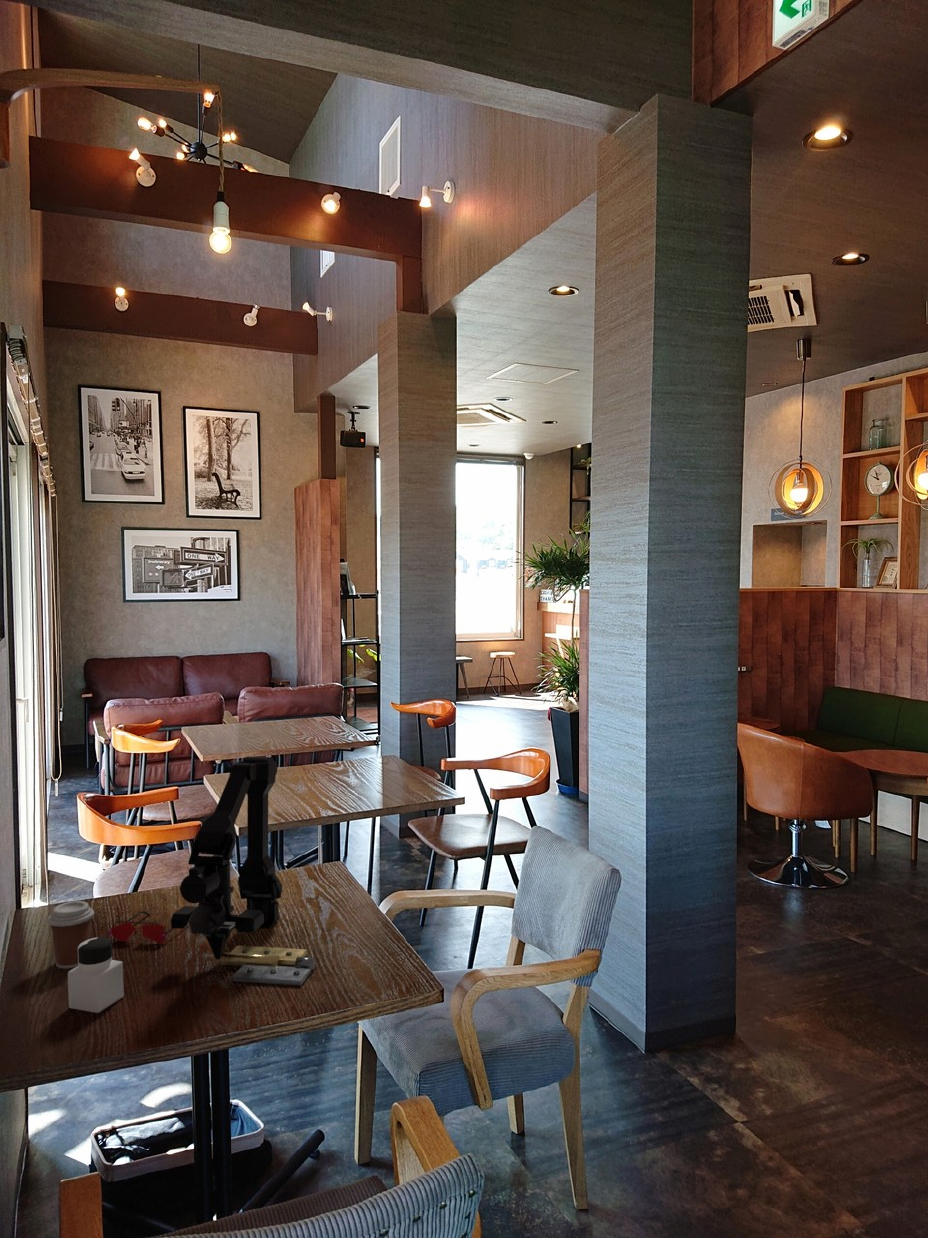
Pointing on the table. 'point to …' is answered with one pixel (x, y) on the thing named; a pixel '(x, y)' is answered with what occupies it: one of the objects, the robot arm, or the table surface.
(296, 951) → the brass leaf
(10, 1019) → the table surface
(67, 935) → the coffee cup
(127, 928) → the glasses
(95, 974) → the medicine bottle
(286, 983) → the steel leaf
